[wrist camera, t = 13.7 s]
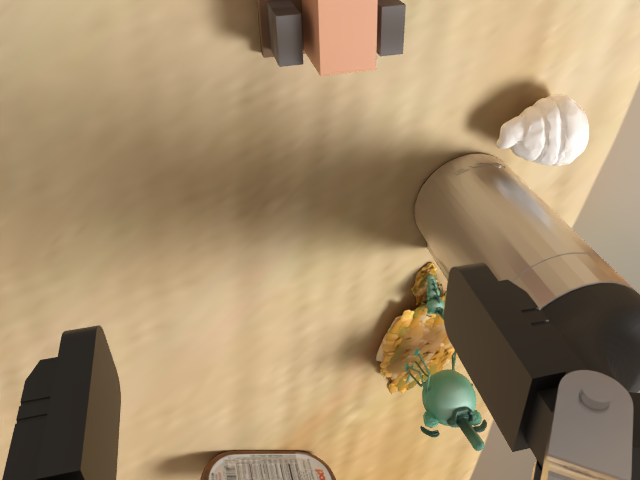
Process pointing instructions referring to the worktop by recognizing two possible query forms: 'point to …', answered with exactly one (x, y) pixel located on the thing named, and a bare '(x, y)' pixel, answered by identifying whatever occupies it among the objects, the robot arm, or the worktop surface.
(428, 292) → the frog figurine
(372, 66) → the terracotta clay brick
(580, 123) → the garlic bulb
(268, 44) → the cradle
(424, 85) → the worktop surface
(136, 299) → the worktop surface
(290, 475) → the tin
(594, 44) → the worktop surface
